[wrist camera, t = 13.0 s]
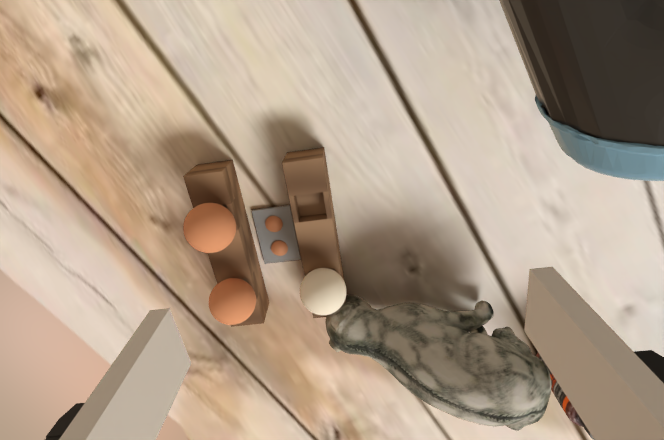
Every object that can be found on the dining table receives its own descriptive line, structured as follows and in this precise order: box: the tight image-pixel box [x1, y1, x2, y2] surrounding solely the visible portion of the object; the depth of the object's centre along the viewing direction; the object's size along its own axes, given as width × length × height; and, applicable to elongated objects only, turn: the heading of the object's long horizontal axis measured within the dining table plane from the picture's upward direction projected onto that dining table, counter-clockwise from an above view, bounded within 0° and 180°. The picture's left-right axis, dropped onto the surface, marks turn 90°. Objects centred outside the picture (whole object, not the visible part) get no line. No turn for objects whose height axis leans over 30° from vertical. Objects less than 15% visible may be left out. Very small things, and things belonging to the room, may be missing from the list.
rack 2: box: [282, 148, 346, 318], centre depth 43 cm, size 19×4×4 cm, turn 8°
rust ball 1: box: [183, 203, 236, 253], centre depth 38 cm, size 5×5×5 cm
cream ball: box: [300, 268, 346, 315], centre depth 41 cm, size 5×5×5 cm
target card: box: [252, 205, 301, 264], centre depth 45 cm, size 7×4×1 cm, turn 8°
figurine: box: [326, 295, 551, 430], centre depth 42 cm, size 10×19×20 cm
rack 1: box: [183, 160, 269, 327], centre depth 44 cm, size 19×4×4 cm, turn 8°
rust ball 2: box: [209, 278, 256, 325], centre depth 42 cm, size 5×5×5 cm
